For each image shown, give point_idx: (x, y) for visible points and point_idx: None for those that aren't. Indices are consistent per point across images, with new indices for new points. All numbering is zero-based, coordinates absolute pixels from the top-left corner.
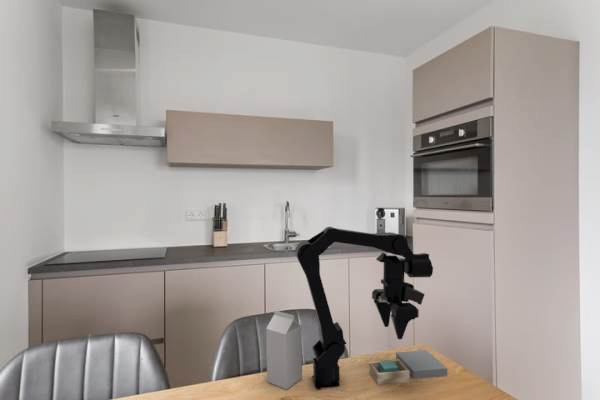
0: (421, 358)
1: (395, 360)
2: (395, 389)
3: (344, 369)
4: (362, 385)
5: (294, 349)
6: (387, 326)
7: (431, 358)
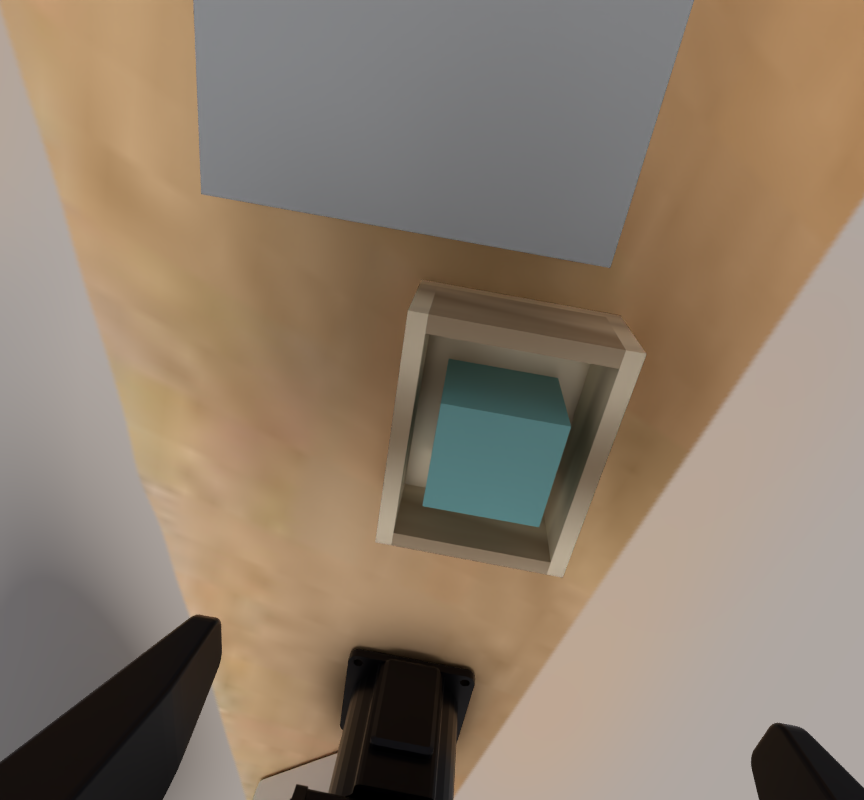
0: None
1: (419, 350)
2: (628, 444)
3: (298, 578)
4: (499, 576)
5: None
6: (217, 630)
7: None
